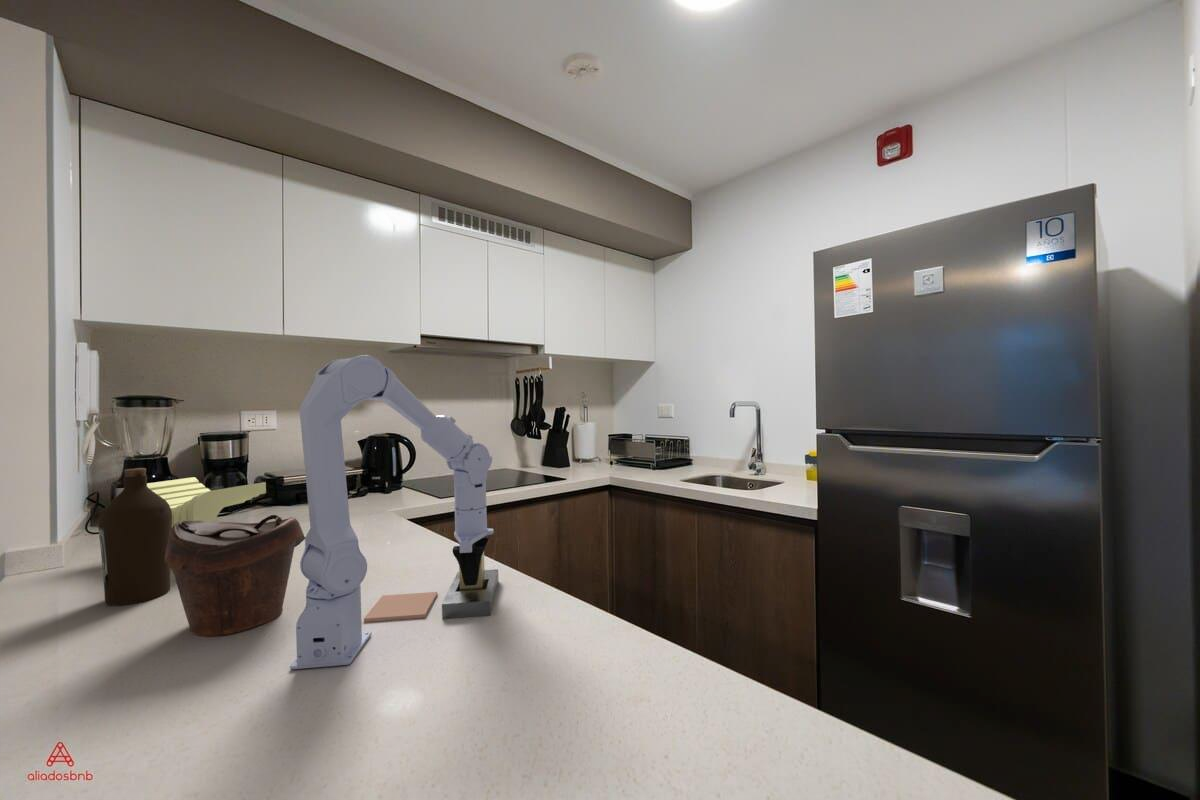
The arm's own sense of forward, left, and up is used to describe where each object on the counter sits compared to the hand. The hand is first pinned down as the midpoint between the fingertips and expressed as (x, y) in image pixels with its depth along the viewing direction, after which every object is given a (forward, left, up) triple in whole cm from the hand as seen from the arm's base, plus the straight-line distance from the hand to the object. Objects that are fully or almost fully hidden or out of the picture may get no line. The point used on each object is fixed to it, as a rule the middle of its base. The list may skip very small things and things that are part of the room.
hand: (472, 580), depth 93 cm
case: (-2, +39, -4) cm, 39 cm away
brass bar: (0, 0, -3) cm, 3 cm away
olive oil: (+13, +66, -4) cm, 67 cm away
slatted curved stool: (+40, +73, -4) cm, 83 cm away
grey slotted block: (0, 0, -3) cm, 3 cm away
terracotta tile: (-2, +12, -3) cm, 13 cm away
